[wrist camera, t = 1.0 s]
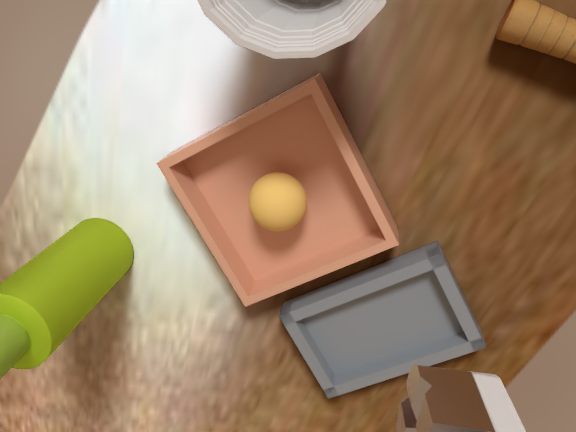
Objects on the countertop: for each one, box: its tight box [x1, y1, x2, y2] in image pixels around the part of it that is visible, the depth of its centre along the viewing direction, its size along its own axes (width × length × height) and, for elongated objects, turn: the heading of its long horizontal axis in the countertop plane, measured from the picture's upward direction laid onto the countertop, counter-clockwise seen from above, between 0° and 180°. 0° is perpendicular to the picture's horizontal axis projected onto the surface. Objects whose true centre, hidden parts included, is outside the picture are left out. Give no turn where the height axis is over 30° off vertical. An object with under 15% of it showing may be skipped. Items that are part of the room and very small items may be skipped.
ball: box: [248, 172, 307, 231], centre depth 41 cm, size 4×4×4 cm
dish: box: [157, 73, 399, 307], centre depth 42 cm, size 13×13×3 cm
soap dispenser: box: [0, 218, 134, 379], centre depth 39 cm, size 6×7×20 cm
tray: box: [279, 241, 486, 399], centre depth 45 cm, size 14×9×2 cm, turn 119°
